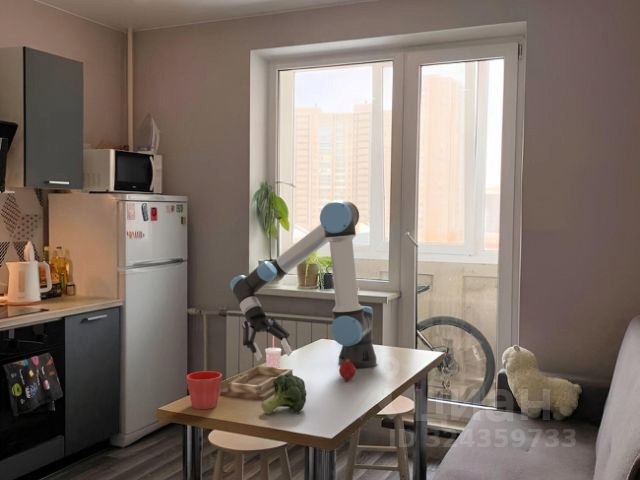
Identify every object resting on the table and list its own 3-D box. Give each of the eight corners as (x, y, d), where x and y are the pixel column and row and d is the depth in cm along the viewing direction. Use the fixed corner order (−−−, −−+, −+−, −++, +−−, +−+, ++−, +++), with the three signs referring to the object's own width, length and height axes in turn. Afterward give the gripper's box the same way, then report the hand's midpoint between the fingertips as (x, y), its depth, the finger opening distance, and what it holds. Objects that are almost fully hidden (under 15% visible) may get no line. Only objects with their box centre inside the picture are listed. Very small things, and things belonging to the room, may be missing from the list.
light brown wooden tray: (294, 379, 238) (294, 369, 238) (264, 400, 214) (264, 388, 214) (254, 375, 244) (254, 365, 244) (220, 394, 219) (220, 383, 219)
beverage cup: (266, 370, 251) (266, 334, 250) (282, 371, 251) (282, 334, 250) (264, 375, 245) (264, 337, 244) (280, 375, 245) (280, 337, 244)
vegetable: (252, 399, 207) (291, 374, 213) (275, 433, 202) (314, 406, 208) (253, 386, 197) (294, 359, 203) (277, 421, 192) (318, 393, 198)
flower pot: (183, 402, 211) (183, 372, 210) (217, 399, 215) (217, 369, 214) (190, 412, 201) (190, 381, 200) (225, 408, 205) (225, 377, 205)
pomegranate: (335, 380, 238) (336, 358, 237) (346, 377, 242) (346, 356, 242) (348, 384, 234) (348, 361, 233) (358, 380, 238) (358, 358, 238)
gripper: (274, 313, 267) (297, 357, 256) (221, 320, 251) (243, 367, 240) (282, 302, 263) (306, 346, 252) (228, 308, 247) (251, 355, 236)
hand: (275, 356), depth 246 cm, fingers open, 13 cm apart
